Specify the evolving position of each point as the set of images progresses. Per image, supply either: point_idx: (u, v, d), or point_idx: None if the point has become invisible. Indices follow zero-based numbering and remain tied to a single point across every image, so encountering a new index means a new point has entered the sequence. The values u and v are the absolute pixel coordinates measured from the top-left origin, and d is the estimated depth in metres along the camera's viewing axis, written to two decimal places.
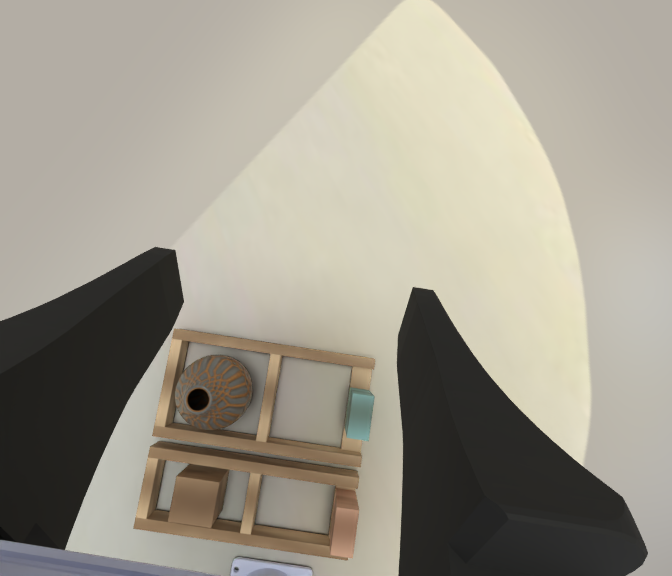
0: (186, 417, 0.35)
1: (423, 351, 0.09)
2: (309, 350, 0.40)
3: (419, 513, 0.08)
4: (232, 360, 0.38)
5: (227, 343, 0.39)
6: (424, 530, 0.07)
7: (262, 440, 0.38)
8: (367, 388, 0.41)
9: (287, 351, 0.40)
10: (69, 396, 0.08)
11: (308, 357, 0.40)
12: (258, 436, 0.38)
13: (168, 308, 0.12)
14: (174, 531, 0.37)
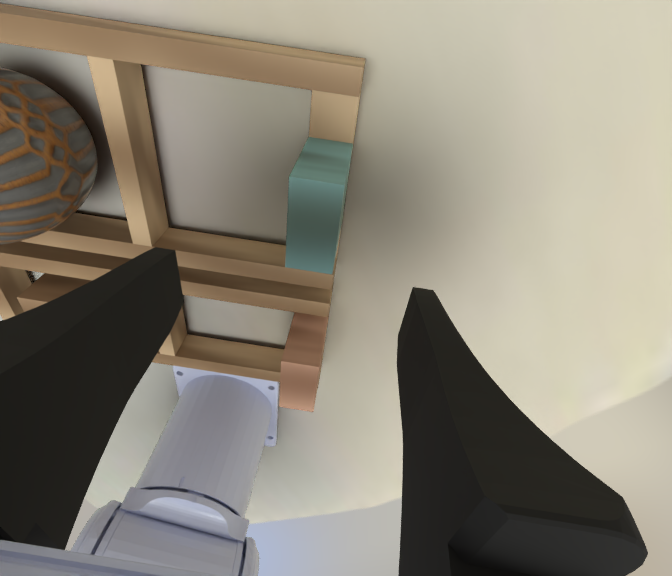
0: None
1: (423, 351, 0.09)
2: (181, 44, 0.14)
3: (419, 513, 0.08)
4: None
5: None
6: (424, 530, 0.07)
7: (145, 243, 0.20)
8: (349, 139, 0.17)
9: (126, 48, 0.15)
10: (69, 396, 0.08)
11: (184, 65, 0.15)
12: (134, 236, 0.20)
13: (168, 308, 0.12)
14: None
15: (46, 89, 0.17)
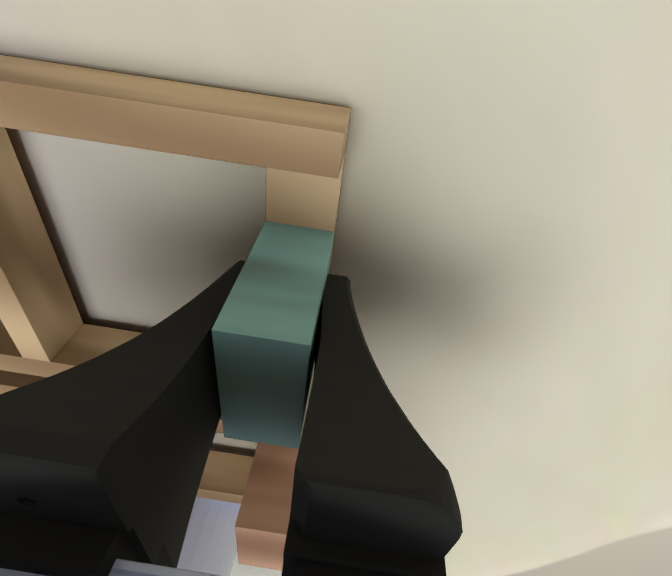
0: None
1: (320, 335, 0.09)
2: (27, 90, 0.08)
3: None
4: None
5: None
6: None
7: (40, 358, 0.14)
8: (328, 226, 0.11)
9: None
10: (190, 415, 0.08)
11: (40, 125, 0.09)
12: (23, 349, 0.14)
13: None
14: None
15: None
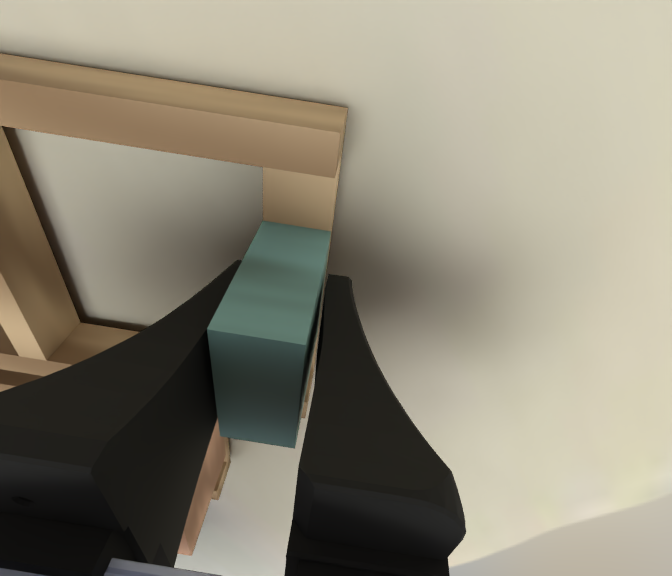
0: None
1: (322, 335, 0.09)
2: (24, 89, 0.08)
3: None
4: None
5: None
6: None
7: (36, 357, 0.14)
8: (325, 225, 0.11)
9: None
10: (187, 415, 0.08)
11: (36, 123, 0.09)
12: (19, 348, 0.14)
13: None
14: None
15: None
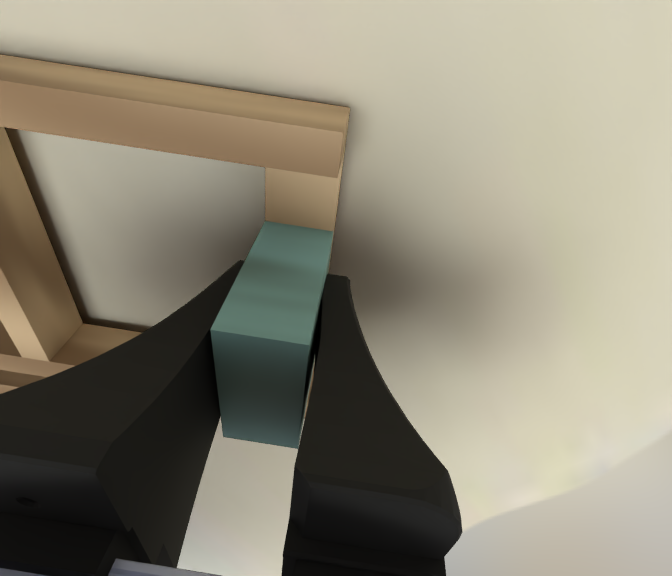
0: None
1: (320, 335, 0.09)
2: (27, 90, 0.08)
3: None
4: None
5: None
6: None
7: (39, 358, 0.14)
8: (327, 226, 0.11)
9: None
10: (190, 415, 0.08)
11: (39, 124, 0.09)
12: (22, 349, 0.14)
13: None
14: None
15: None
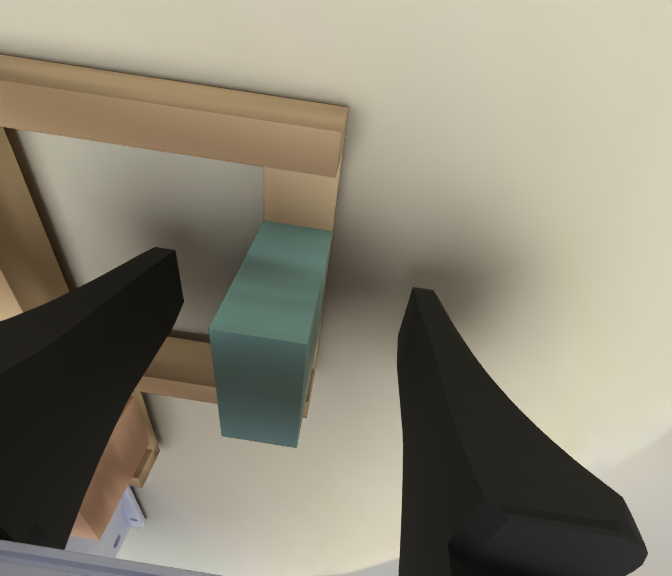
0: None
1: (423, 351, 0.09)
2: (26, 90, 0.08)
3: (419, 513, 0.08)
4: None
5: None
6: (424, 530, 0.07)
7: None
8: (326, 225, 0.11)
9: None
10: (69, 396, 0.08)
11: (37, 124, 0.09)
12: None
13: (168, 308, 0.12)
14: None
15: None
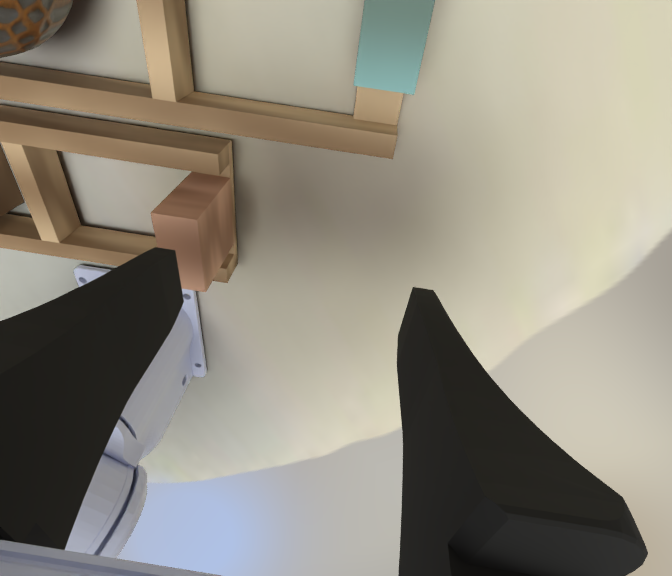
0: None
1: (423, 351, 0.09)
2: None
3: (419, 513, 0.08)
4: None
5: None
6: (424, 530, 0.07)
7: (168, 98, 0.17)
8: None
9: None
10: (69, 396, 0.08)
11: None
12: (155, 87, 0.16)
13: (168, 308, 0.12)
14: None
15: None
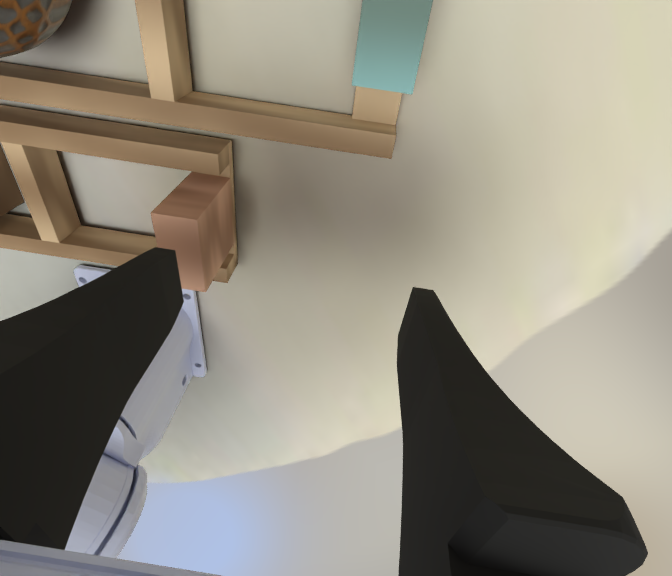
0: None
1: (423, 351, 0.09)
2: None
3: (419, 513, 0.08)
4: None
5: None
6: (424, 530, 0.07)
7: (166, 98, 0.17)
8: None
9: None
10: (69, 396, 0.08)
11: None
12: (153, 87, 0.16)
13: (168, 308, 0.12)
14: None
15: None
